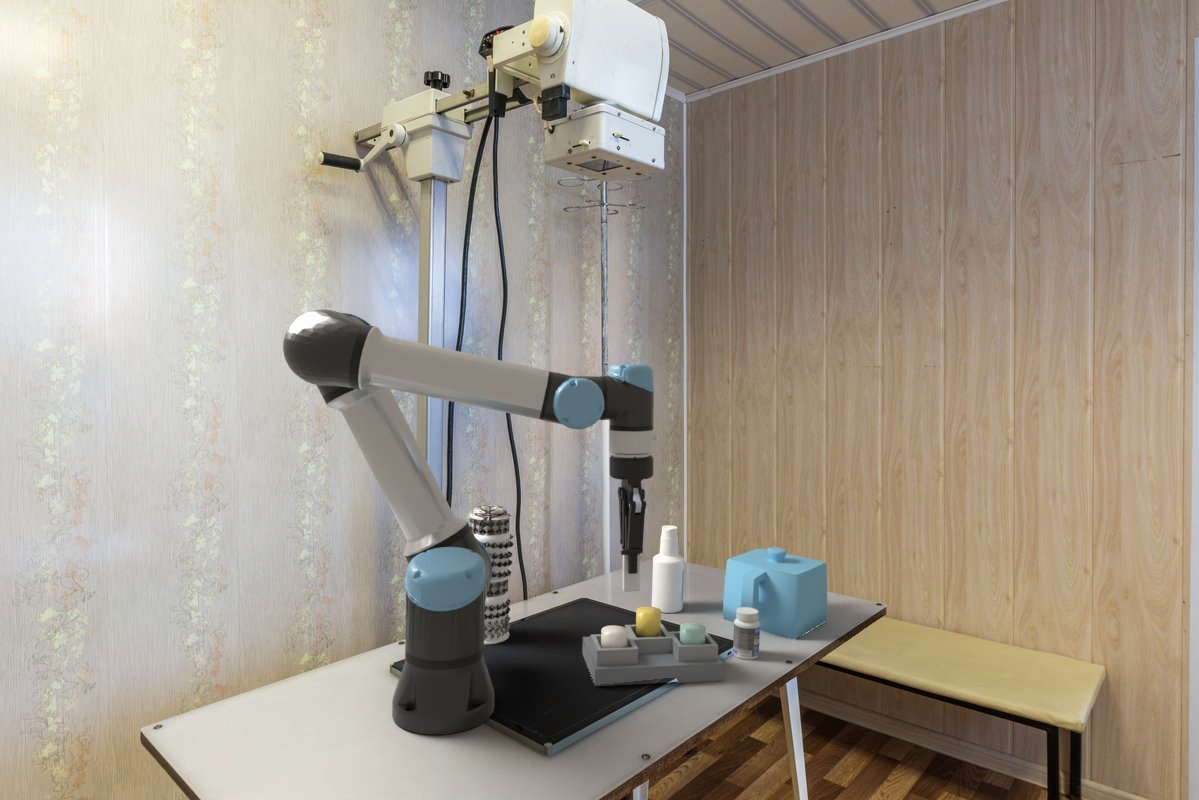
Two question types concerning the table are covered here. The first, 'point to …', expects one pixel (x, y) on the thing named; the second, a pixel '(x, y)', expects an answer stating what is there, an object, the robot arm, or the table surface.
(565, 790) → the table surface
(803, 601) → the container
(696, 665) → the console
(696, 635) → the button teal
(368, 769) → the table surface
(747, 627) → the pill bottle
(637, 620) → the button mustard
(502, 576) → the decorative candle
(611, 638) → the button ivory
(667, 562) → the spray bottle
